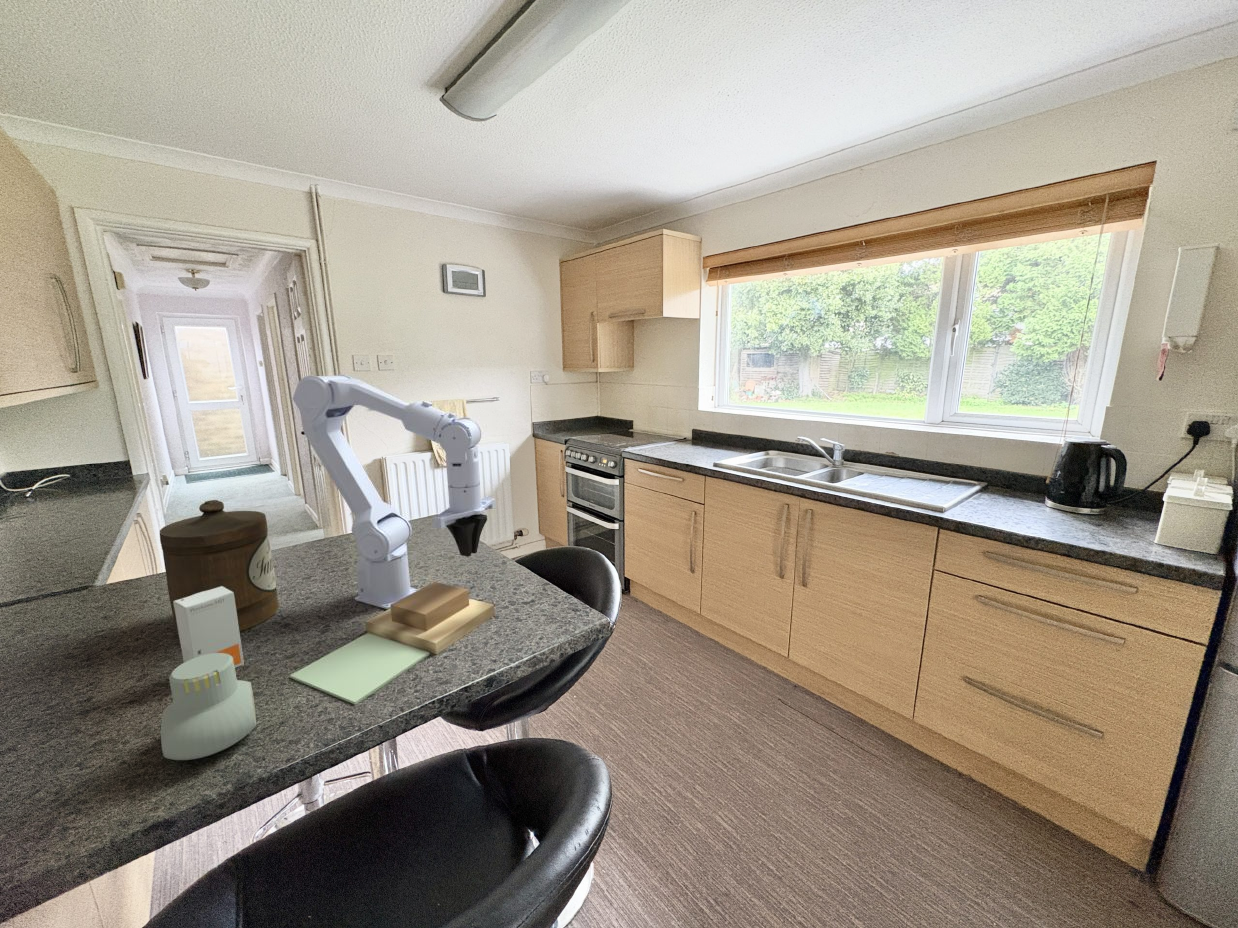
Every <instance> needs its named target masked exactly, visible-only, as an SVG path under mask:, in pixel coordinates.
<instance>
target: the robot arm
mask: <svg viewBox="0 0 1238 928" xmlns="http://www.w3.org/2000/svg"><path fill="white" fill-rule="evenodd" d="M292 400H293V402H294V404H295V405H296V407H297V409H298V411H299V413H300V418H301V419H300V420H301V425H302V430H303V434H304V436H305V437H306V439H307V441H308V442H309V443H310V446H311V447H312V449H313V450H314V452H315V454H316V455H317V456H318V458H319V461H320V462H321V463H322V465H323V467H324V469H325V470H326V472H327V473H328V474H329V477H330V478H331V479H332V481H333V483H334V485H335V487H336V488H337V489H338V491H339V493H340V495H341V497H343V499H344V501H345V503H346V504H347V506H348V508H349V510H350V511H351V513H352V514H353V516H354V519H353V522H352V526H351V530H350V531H351V532H352V534H353V536H354V537H355V538H354V539H355V544H356V549H357V552H358V553H359V554H360V556H359V557H358V559H357V561H356V565H355V574H356V582H357V583H356V584H357V593H358V595H357V596H355V597H354V600H355V601H358V602H360V603H361V602H362V603H364V604H368V605H371V606H374V607H378V608H383V609H385V610H388V609H390V608H391V607H390V605H391V604H393V603H395V602H397V601H399V600H401V599H403V598H404V597H406V596H408V595H410V594H412V593H414V592H416V591H418V590H419V589H418V588H417V589H416V588H413V587H411V579H410V569H409V560H408V559H409V557H408V546H407V545H408V544H407V542H408V541H409V540H410V539H411V536H412V534H413V533H412V532H413V531H412V530H413V529H412V525H411V523H410V521H409V520H408V519H407V518H406V517H404V516H402V515H401V514H400V513H399V511H398V510H397V508H396V507H395V506H393V505H391V504H389V503H387V502H385V501H383V499H382V497H381V496H380V494H379V492H378V490H377V489H376V487H375V486H374V484H373V483H372V482H373V481H371V479H370V478H369V476H368V474H367V472H366V471H365V469H364V468H363V465H362V464H361V463H360V461H359V458H357V455H356V454H355V453H354V451H353V449H352V447H351V445H350V444H349V442H348V440H347V439H346V437H345V436H344V434H343V433H342V429H341V428H342V426H343V423H344V420H345V418H346V417H347V415H348V414H350V412H351V411H352V409H354V407H355V406H361V407H364V408H367V409H370V410H372V411H373V412H377V413H380V414H382V415H386V416H387V417H391V418H394V419H396V420H400V421H401V422H402V425H403V427H404V429H405V430H406V431H408V432H410V433H413V434H414V435H418V436H420V437H423V438H425V439H427V440H429V441H432V442H434V443H437V444H439V446H440V448H441V449H442V450H443V451H444V452H445V464H446V465H445V466H446V479H447V490H448V491H447V493H448V494H447V495H448V508H446V509H445V510H443V511H442V512H441V513H438V514H437V515H435V516H432V517H431V518H432V528H434V529H438V530H439V529H440V530H442V529H445V528H447V529H448V531H449V532H450V533H451V535H452V537H453V539H454V541H455V543H456V546H457V549H458V552H459V555H460V556H463V557H468V558H470V557H471V556H472V554H477V552H478V548H479V543H480V539H481V535H482V531H483V529H484V527H485V525H486V523H487V522H488V515H487V514H484V513H486V511H487V510H494V509H496V499H495V498H493V497H485V498H482V497H481V479H480V461H479V450H478V446H477V445H478V444H479V443H480V441H481V439H482V429H481V428H480V426H479V424H478V423H477V422H475V421H474V420H473V419H471V418H470V417H460V418H458V417H457V413H454V412H449V413H448V412H445V411H443V410H441V409H438V408H436V407H435V406H433V404H434V403H433V402H432V401H428V400H424V401H419V400H418V401H415V402H412V403H411V404H410V403H408V402H406V401H404V400H403V399H400V398H397V397H395V396H393V395H391V394H389V393H388V392H385V391H383V390H381V389H379V388H377V387H375V386H374V385H373V386H372V385H370V384H368V383H366V382H365V381H363V380H361V379H358V378H353V377H351V376H349V375H346V374H336V375H320V376H319V375H306V376H304V377H302V378H301V379H300V380H299V382H297V385H296V388H295V390H294V393H293V397H292Z"/></svg>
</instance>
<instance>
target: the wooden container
mask: <svg viewBox="0 0 1238 928" xmlns="http://www.w3.org/2000/svg"><path fill="white" fill-rule="evenodd" d="M224 508H225V505H224V502H223V501H221V500H218V499H211V500H207V501H204V502H203V503H201V504H200V506H199V508H198V509H199V511H200V512H201V513H202V514H201V515H197V516H193V517H189V518H184V519H181V520H178V521H175V522H171V523H169V524H167V525H165V526H163V527H162V528H161V529H160V530H159V541H160V542H159V543H160V546H161V550H162V556H163V563H164V569H165V577H166V583H167V584H166V585H167V591H168V596H169V603H170V607H171V612H172V618H173V624H174V628H175V632H176V634H177V636H179V632H178V626H177V621H176V614H175V609H174V604H173V601H175V600H179V599H182V598H185V597H188V596H191V595H194V594H196V593H200V592H203V591H208V590H211V589H214V588H217V587H221V586H223V587H224V588H226V589H228V590H230V591H232V592H233V593H234V598H235V605H236V612H237V619H238V626H239V632H242V631H245V630H248V629H250V628H252V627H255V626H257V625H259V624H261V623H264V622H265V621H267V620H269V619H270V618H271V617H272V616H274V615H275V614H276V613H277V611H278V609H279V608H280V607H279V598H278V591H277V583H276V576H275V575H276V574H275V568H274V563H273V562H274V561H273V557H272V551H271V546H270V538H269V533H268V532H269V529H268V522H267V516H266V514H265V513H264V512H261V511H256V510H254V511H253V510H232V511H225V510H224Z"/></svg>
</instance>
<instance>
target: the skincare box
mask: <svg viewBox="0 0 1238 928" xmlns="http://www.w3.org/2000/svg"><path fill="white" fill-rule="evenodd" d="M173 604H174V609H175V614H176V621H177V626H178V632H179V635H178V637H179V643H180V648H181V654H182V659H183V660H182V661H183V663H185V662H186V661H189V660H191V659H193V658H196V657H199V656H202V655H206V654H212V653H225V654H228V655H230V656H232V657H233V662H234V667H235V669H236V668H240V667H242V666H244V664H245V662H244V653H243V648H242V641H241V634H240V631H239V626H238V619H237V612H236V605H235V598H234V593H233V592H232V591H230V590H228V589H226V588H224V587H223V586H221V587H217V588H214V589H211V590H208V591H203V592H200V593H196V594H194V595H191V596H188V597H185V598H182V599H179V600H175V601H173Z"/></svg>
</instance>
